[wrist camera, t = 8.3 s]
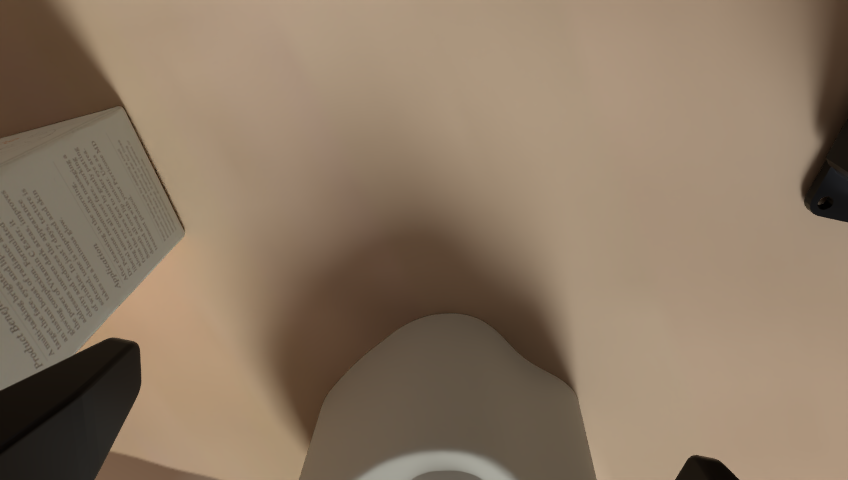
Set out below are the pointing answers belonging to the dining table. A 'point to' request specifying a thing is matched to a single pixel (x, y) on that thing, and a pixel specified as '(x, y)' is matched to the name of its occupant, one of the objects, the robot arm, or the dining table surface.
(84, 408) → the robot arm
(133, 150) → the small box
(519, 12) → the dining table surface
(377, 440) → the lumpy-topped squat cylinder
